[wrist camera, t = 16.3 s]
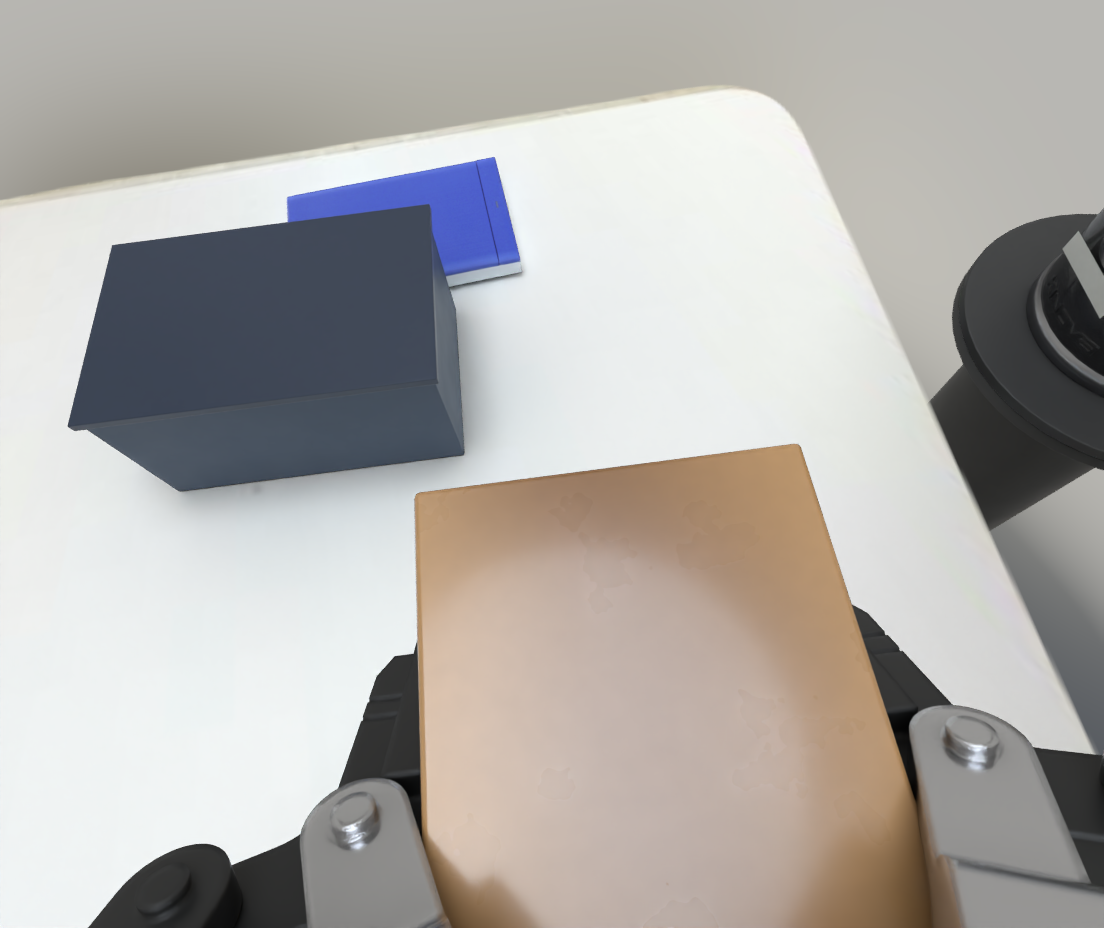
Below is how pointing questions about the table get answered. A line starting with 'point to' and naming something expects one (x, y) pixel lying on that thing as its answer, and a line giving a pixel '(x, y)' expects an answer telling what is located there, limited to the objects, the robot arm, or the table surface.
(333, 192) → the blue notebook
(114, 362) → the storage box
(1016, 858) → the robot arm
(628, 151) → the table surface
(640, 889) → the small box
